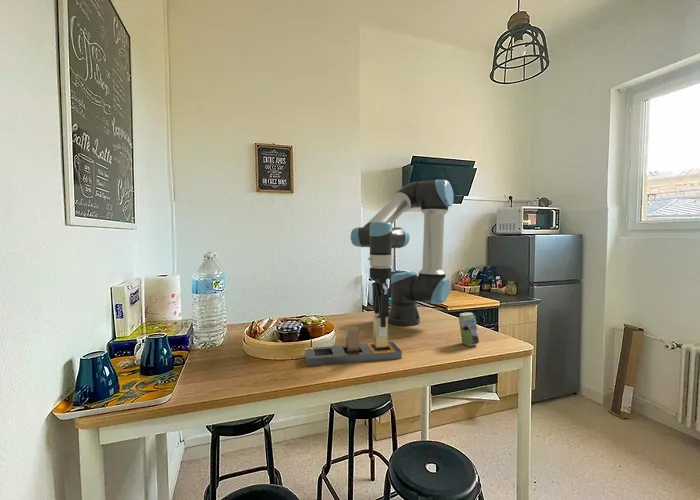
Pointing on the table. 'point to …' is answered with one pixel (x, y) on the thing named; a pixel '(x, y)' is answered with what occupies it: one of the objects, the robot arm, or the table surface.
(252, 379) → the table surface
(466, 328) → the beverage can
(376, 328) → the pale yellow block
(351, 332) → the brown rectangular block
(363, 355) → the grey peg insertion board
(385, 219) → the robot arm
